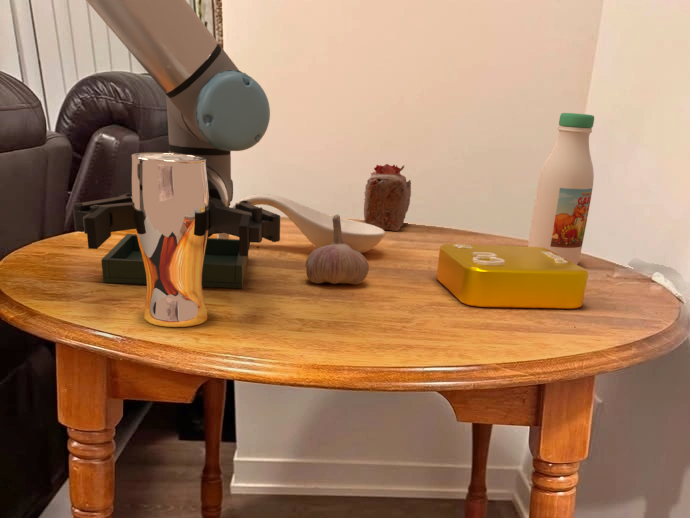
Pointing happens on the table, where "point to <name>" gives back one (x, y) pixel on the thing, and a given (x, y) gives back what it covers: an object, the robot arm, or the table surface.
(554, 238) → the milk bottle
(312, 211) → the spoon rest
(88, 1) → the robot arm
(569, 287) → the element tile
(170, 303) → the beer glass
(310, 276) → the garlic bulb
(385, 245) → the table surface
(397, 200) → the food item
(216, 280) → the serving tray
